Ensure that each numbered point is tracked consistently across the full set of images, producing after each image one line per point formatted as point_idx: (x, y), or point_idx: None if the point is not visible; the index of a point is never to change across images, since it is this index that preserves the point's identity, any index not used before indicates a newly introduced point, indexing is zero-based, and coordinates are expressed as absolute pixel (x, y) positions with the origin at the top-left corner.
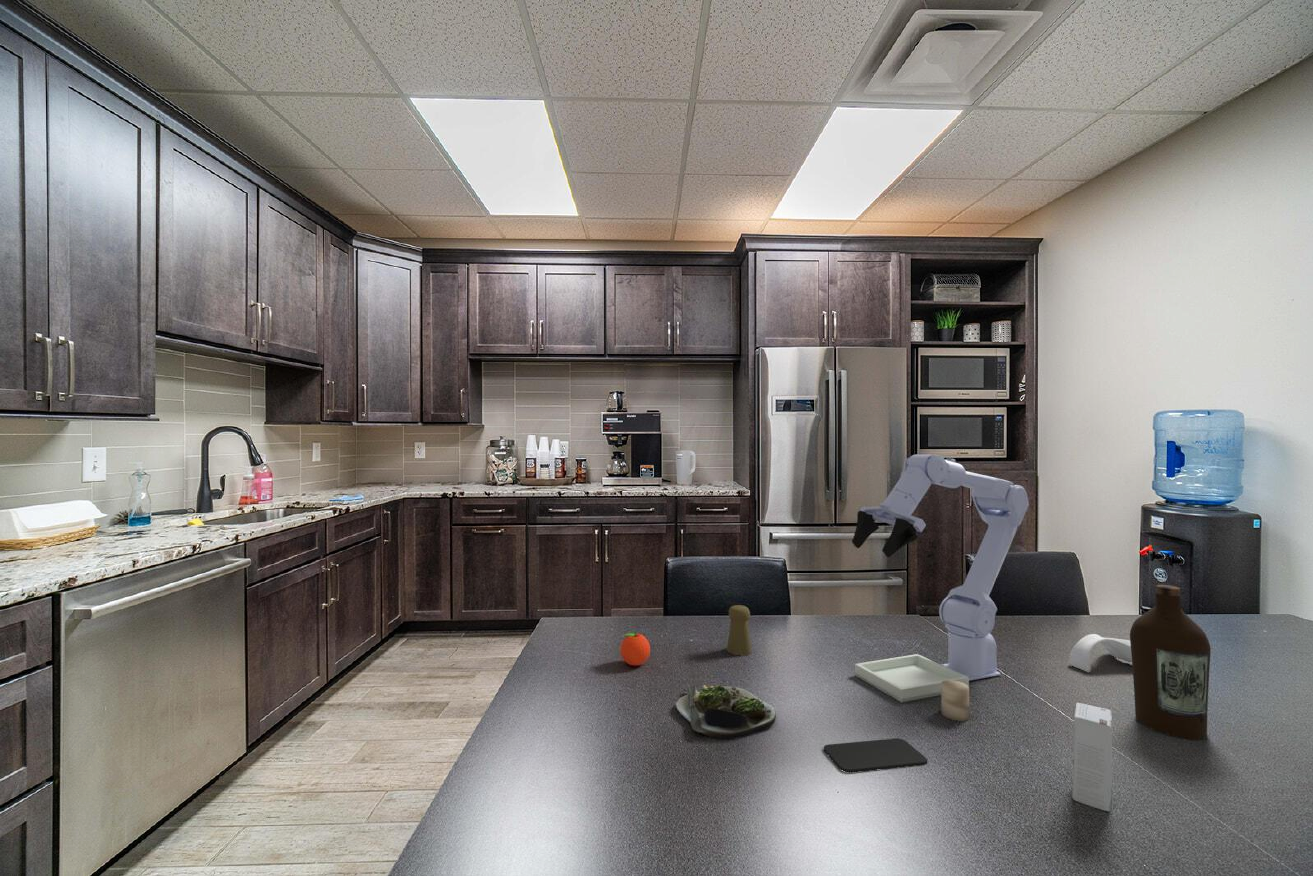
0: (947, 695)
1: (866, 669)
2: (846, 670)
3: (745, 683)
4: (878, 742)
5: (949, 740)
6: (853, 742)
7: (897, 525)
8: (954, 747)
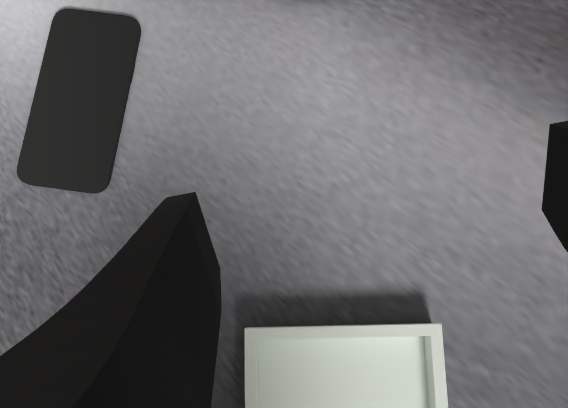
0: None
1: (393, 329)
2: (471, 323)
3: (462, 16)
4: (107, 131)
5: (64, 294)
6: (126, 82)
7: (22, 399)
8: (39, 280)
